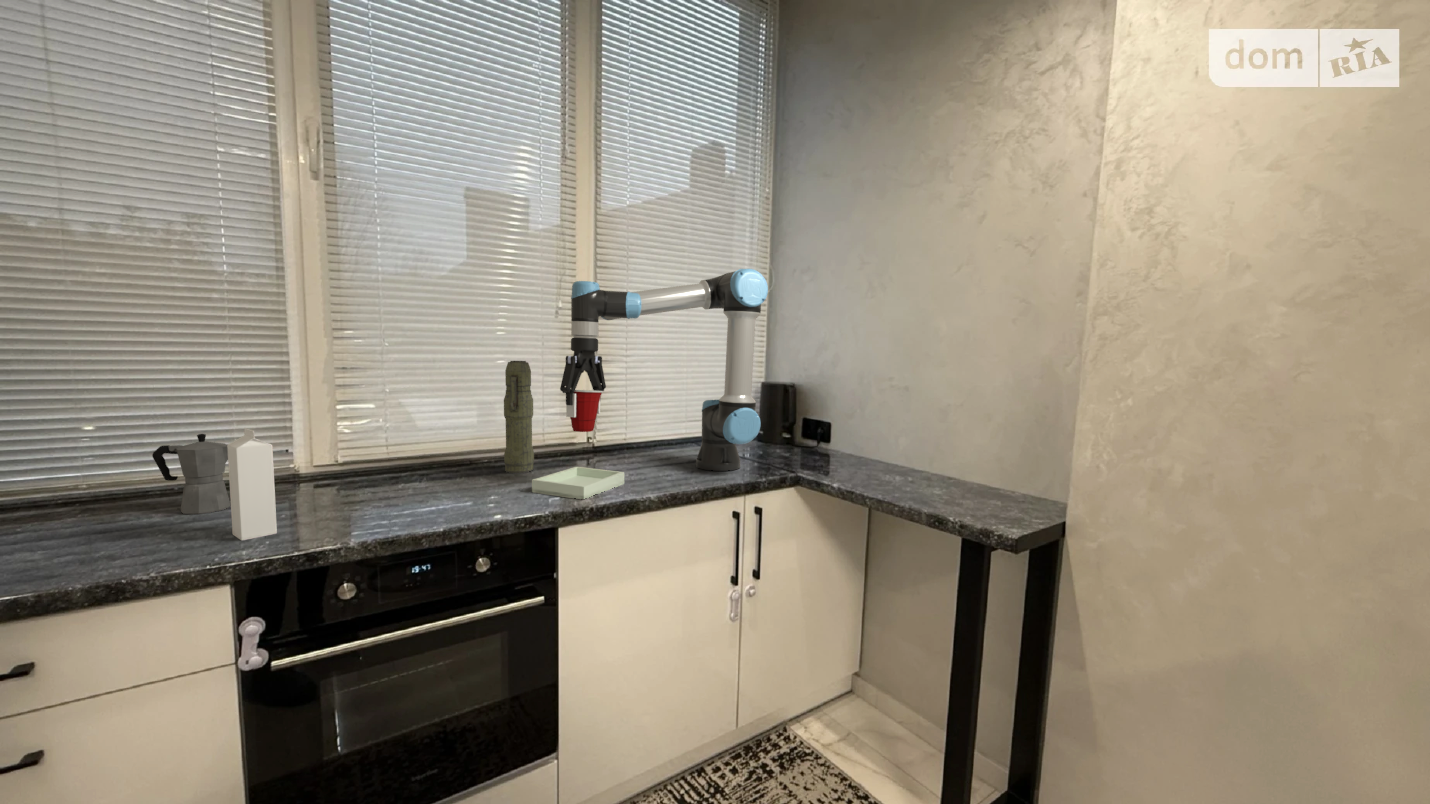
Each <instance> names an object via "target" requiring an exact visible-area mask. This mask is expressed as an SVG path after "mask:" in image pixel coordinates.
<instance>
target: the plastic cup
mask: <svg viewBox="0 0 1430 804" xmlns="http://www.w3.org/2000/svg"><path fill="white" fill-rule="evenodd" d="M603 393H604V391H594V390H593V389H591V390H588V389H586V390H585V389H575V391H574V394H576V417H569V418H570V422H571V429H572V431H573V432H577V433H589V432H593V431H594V430H595V425H596V419H597V415H598V414H597V410H598V405H599V401H600V397H602V394H603ZM600 402H601V401H600Z"/></svg>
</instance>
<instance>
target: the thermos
mask: <svg viewBox="0 0 1430 804" xmlns="http://www.w3.org/2000/svg"><path fill="white" fill-rule="evenodd" d="M531 370H532V369H531V366H530V363H529V362H528V361H526V360H510V361H508V362H507V363H506V367H505V386H506V389H505V395H504V397H503V417H504V419H505V450H504V454H503V456H504V457H503V461H504V462H503V463H504V466H505V467H504V468H505V469H504V472H505V471H506V472H505V473H507V472H509V473H508V474H514V473H516V474H526V473H525V472H528V473H530V472H529V471H531V470H533V469H534V462H535V453H534V448H533V416H534V397H533V395H532V390H531V386H532V371H531ZM533 471H534V470H533ZM531 472H532V471H531Z"/></svg>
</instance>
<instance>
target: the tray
mask: <svg viewBox="0 0 1430 804" xmlns="http://www.w3.org/2000/svg"><path fill="white" fill-rule="evenodd" d="M623 485H625V471H617V470H609V469H599V468H594V467H593V468H592V467H584V466H574V467H571V468H567V469H564V470H560V471H557V472H553V473H550V474H546V475H544V476H540V477H537V478H533V479H531V493H532V494H533V493H534V494H541V495H548V496H555V497H560V498H561V497H562V498H569V499H574V498H576V499H575V500H581V499H585V498H587V499H590V498H592V497H594V496H593V495H595V494H598V495H600V494H602V493H601V492H603V493H605V492H607V491H610V490H613V489H615V488H617V487H620V486H623ZM614 487H615V488H614ZM612 488H613V489H612ZM604 491H605V492H604ZM591 496H592V497H591ZM595 496H596V495H595ZM589 497H590V498H589ZM585 500H586V499H585Z"/></svg>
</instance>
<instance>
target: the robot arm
mask: <svg viewBox="0 0 1430 804" xmlns="http://www.w3.org/2000/svg"><path fill="white" fill-rule="evenodd" d="M768 291H769V286H768V283H767V280H766V278H765V276H763V274H762V273H761V272H759V271H758V270H756V269H754V268H740V269H737V270H733V271H731V272H727V273H723V274H722V275H718V276H716V277H712V278H708V279H701V280H700V282H698V283H693V284H686V285H685V284H684V285H677V286H669V287H662V288H661V287H660V288H653V289H645V290H637V291H617V290H616V291H615V290H614V291H613V290H604V289H601V288H600V284H599V282H595V281H589V280H587V281H586V280H578V281H575V282H573V283H572V285H571V297H570V300H571V303H570V308H571V309H570V310H571V311H570V312H571V320H570V321H571V325H570V327H571V330H570V331H571V336H573V337H571V338H570V350H571V351H572V352H573V355H566V356H565V366H564V370H563V374H562V379H561V382H560V383H561V384H560V388H559V390H560V392H562V393H563V394H565V405H566V408H565V409H566V410H565V414H566V418H570V417H576V394H574V391H575V390H577V386H578V383H579V381H580V378H581V376H582V374H583V373H584V372H585V373H586V375H587V376H588V379H589V381H590V384H591V388H592V390H594V391H603V392H605V389H606V387H607V385H606V379H605V374H604V370H603V368H604V367H603V357H602V355H601V356H600V355H596V353H597V352H598V350H599V340H598V339H599V338H597V337H599V328H600V327H599V325H600V324H599V321H600V320H599V319H600V318H602V319H603V320H606V321H613V320H617V319H628V320H629V319H638V318H639V317H640V316H646V315H652V314H661V313H669V312H676V311H682V310H689V309H698V308H702V309H704V310H712V309H713V310H714V309H715V310H716V309H721V310H722V309H723V314H724V315H725V317H726V318H727V329H726V330H727V331H726V351H725V352H726V353H725V355H726V356H725V373H724V389H723V390H724V392H723V395H722V396H721V397H720V398H719V399H706V400H704V401H703V403H702V407H701V445H700V448H699V451H698V453H697V455H696V456H697V457H696V460H695V467H696V468H697V469H700V470H705V471H711V470H713V471H715V472H728V470H730V471H737V470H738V469H740V468H741V458H740V455H739V452H738V451H739V450H738V448H737V445H746V444H748V443H750V442H752V441H753V440H754V439H755V438H757V436H758V434H759V433H760V430H761V418H760V416H759V414H758V413H757V411H756V403H757V402H756V400H755V399H754V397H753V396H752V387H753V371H754V370H753V369H754V367H753V366H754V352H755V335H756V333H755V331H756V320H757V318H759V316H761V314H762V312H761V311H762V304H764V302H765V300H766V299H767V296H768ZM599 317H600V318H599ZM601 397H602V396H601ZM601 397H600V401H599V405H598V410H597V415H601V399H602V398H601ZM736 444H737V445H736ZM713 471H712V472H713Z"/></svg>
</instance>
